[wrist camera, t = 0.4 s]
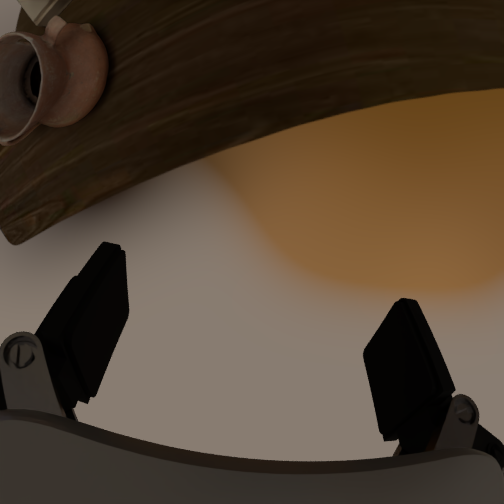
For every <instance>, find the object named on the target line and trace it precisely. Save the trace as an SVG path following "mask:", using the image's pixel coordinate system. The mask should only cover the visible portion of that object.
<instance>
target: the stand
mask: <svg viewBox="0 0 504 504" xmlns="http://www.w3.org/2000/svg"><path fill="white" fill-rule="evenodd" d="M71 1H72V0H18V2H19V3H20V5H21V6H22V7H23V9H24V10H25V11H26V13H27V14H28V15H29V17H30V18H31V19H32V20H33V22H34V23H35V24H36V26H47V24H48V22H49V21H50V20H51V19H52V18H53V17H54V16H55V15H59V14H60V13H61V12H62V11H63V10H64V9H65V7H66V6H67V5H68V4H69V3H70V2H71Z"/></svg>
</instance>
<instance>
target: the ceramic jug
mask: <svg viewBox="0 0 504 504" xmlns="http://www.w3.org/2000/svg"><path fill="white" fill-rule="evenodd" d="M24 38H25V39H26V40H28V41H29V42H31V43H27V42H20V41H18V40H20V39H24ZM108 69H109V61H108V54H107V50H106V48H105V45H104V43H103V41H102V40H101V38H100V37H99V36H98V35H97V33H96V31H95V30H94V28H93V26H92V25H91V24H88V23H86V24H77V23H66V22H65V21H64V20H63V19H62V18H60V17H59V16H58V15H55V16H54V17H53V18H52V19H51V20H50V21H49V22H48V24H47V26H46V29H45V33H44V34H43V35H42V36H37V35H34V34H31V33H27V32H10V33H7V34H5V35H3V36H1V37H0V144H1V145H3V146H9V145H14V144H16V143H18V142H20V141H21V140H23V139H24V138H25V137H26V136H27V135H29V134H30V133H31V132H32V131H33V130H34V129H35V128H36V127H38V126H39V125H40V124H44V125H47V126H50V127H65V126H69V125H72V124H74V123H76V122H78V121H79V120H81V119H82V118H83V117H85V116H86V115H87V114H88V113H89V112H90V111H91V110H92V109H93V108H94V106H95V105H96V104H97V102H98V101H99V99H100V97H101V95H102V93H103V91H104V88H105V85H106V81H107V74H108Z"/></svg>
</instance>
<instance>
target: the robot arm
mask: <svg viewBox="0 0 504 504" xmlns="http://www.w3.org/2000/svg"><path fill="white" fill-rule="evenodd" d="M127 289H128V288H127V273H126V254H125V251H124V250H121V247H120V245H118V244H113V243H109V242H102V244H101V245H100V246H99V247H98V248H97V250H96V251H95V253H94V254H93V255H92V256H91V258H90V259H89V260H88V262H87V263H86V265H85V266H84V267H83V269H82V270H81V271H80V273H79V274H78V276H74V277H73V278H72V279H71V280H70V281H69V283H68V284H67V286H66V287H65V288H64V290H63V291H62V293H61V294H60V296H59V297H58V299H57V300H56V302H55V303H54V304H53V306H52V307H51V309H50V310H49V312H48V314H47V315H46V317H45V318H44V320H43V321H42V323H41V325H40V326H39V328H38V329H37V331H36V333H35V334H32V333H29V332H16V333H14V334H12V335H10V336H9V337H7V338H6V339H5V340H4V342H3V343H2V344H1V347H0V504H504V445H503V444H502V442H501V441H500V440H499V439H497V438H496V437H495V436H493V435H492V434H491V433H490V432H488V431H487V430H486V429H485V428H483V427H482V426H481V425H479V424H478V422H479V411H478V408H477V406H476V404H475V403H474V401H473V400H471V398H470V397H468V396H466V395H463V394H459V395H456V396H455V397H453V398H452V395H451V394H452V393H453V392H454V391H455V386H454V384H453V381H452V379H451V376H450V374H449V371H448V369H447V366H446V364H445V362H444V359H443V357H442V354H441V352H440V350H439V347H438V345H437V343H436V340H435V338H434V336H433V334H432V332H431V329H430V327H429V325H428V323H427V321H426V319H425V316H424V314H423V313H422V310H421V308H420V306H419V304H418V302H417V301H416V300H413V299H407V298H401V299H399V301H397V302H395V303H394V305H393V306H392V308H391V309H390V311H389V313H388V314H387V316H386V318H385V319H384V320H383V322H382V324H381V325H380V327H379V328H378V330H377V331H376V333H375V334H374V336H373V337H372V339H371V340H370V342H369V343H368V344H367V346H366V348H365V349H364V352H363V358H364V363H365V367H366V371H367V375H368V380H369V384H370V388H371V393H372V398H373V402H374V407H375V412H376V417H377V422H378V427H379V432H380V433H381V434H383V439H384V441H394V440H397V439H399V445H398V447H397V449H396V450H395V452H394V454H393V456H392V457H384V458H375V459H363V460H347V461H315V462H314V461H313V462H312V461H310V462H307V461H275V460H260V459H248V458H238V457H229V456H222V455H214V454H207V453H201V452H195V451H190V450H184V449H178V448H174V447H169V446H164V445H160V444H156V443H152V442H148V441H144V440H140V439H136V438H132V437H128V436H124V435H121V434H117V433H114V432H110V431H107V430H104V429H101V428H97V427H94V426H91V425H88V424H85V423H81V422H78V419H77V417H76V415H75V412H74V409H73V408H75V407H76V404H77V401H80V402H84V403H86V404H88V402H89V400H90V397H95V396H96V394H97V392H98V389H99V386H100V384H101V381H102V379H103V376H104V374H105V371H106V369H107V366H108V364H109V361H110V359H111V356H112V353H113V351H114V349H115V347H116V344H117V342H118V339H119V337H120V335H121V333H122V330H123V328H124V326H125V323H126V321H127V319H128V316H129V302H128V290H127Z"/></svg>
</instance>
